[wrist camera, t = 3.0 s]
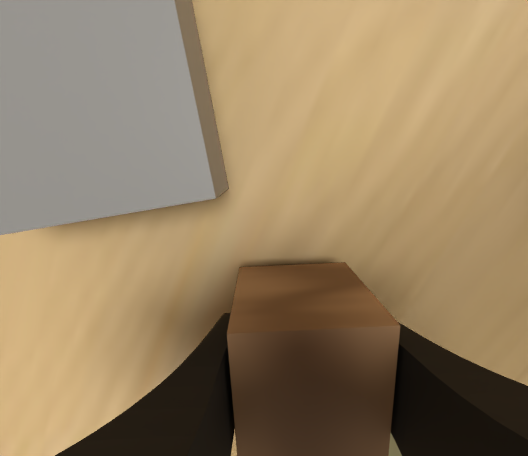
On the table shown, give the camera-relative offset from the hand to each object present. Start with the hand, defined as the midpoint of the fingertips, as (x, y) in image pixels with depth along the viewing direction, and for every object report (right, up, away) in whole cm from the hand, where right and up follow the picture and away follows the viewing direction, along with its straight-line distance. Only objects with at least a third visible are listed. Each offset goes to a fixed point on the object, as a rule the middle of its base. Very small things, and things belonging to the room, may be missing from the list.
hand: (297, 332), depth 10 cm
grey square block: (-7, +9, +1) cm, 12 cm away
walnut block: (0, 0, +1) cm, 2 cm away
